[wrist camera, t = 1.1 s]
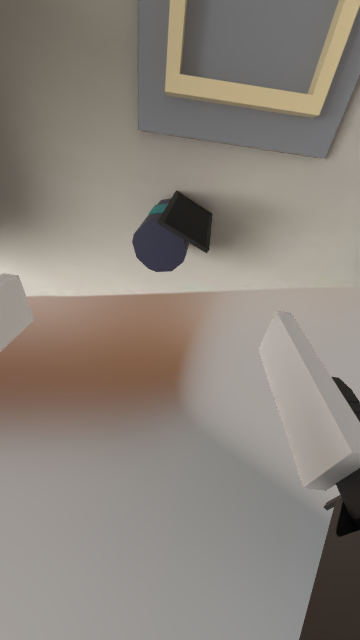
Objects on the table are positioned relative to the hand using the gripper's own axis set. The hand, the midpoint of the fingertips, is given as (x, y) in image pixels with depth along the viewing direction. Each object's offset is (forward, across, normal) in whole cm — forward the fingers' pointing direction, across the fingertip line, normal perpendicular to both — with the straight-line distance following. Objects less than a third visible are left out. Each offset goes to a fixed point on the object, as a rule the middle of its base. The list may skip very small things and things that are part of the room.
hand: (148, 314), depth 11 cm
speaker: (+21, 0, 0) cm, 21 cm away
